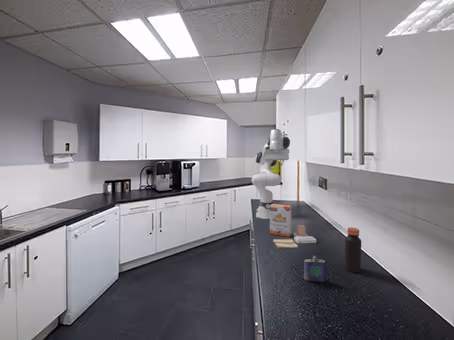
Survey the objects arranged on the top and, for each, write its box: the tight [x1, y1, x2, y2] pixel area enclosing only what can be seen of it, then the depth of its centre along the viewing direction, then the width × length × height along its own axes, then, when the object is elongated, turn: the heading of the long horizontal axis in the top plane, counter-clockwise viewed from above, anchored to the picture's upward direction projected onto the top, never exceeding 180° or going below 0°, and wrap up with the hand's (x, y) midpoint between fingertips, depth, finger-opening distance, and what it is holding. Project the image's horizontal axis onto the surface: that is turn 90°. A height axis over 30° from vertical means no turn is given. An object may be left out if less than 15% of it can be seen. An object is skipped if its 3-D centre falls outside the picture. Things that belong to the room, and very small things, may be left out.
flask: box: [303, 255, 327, 282], centre depth 98 cm, size 9×3×11 cm, turn 83°
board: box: [272, 238, 299, 250], centre depth 137 cm, size 12×12×1 cm
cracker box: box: [269, 203, 292, 238], centre depth 153 cm, size 14×6×21 cm, turn 62°
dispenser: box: [293, 232, 317, 245], centre depth 144 cm, size 14×12×2 cm
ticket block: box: [296, 224, 306, 236], centre depth 147 cm, size 4×4×8 cm
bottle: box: [344, 227, 362, 274], centre depth 105 cm, size 7×7×20 cm
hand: (275, 165), depth 170 cm, fingers open, 8 cm apart
